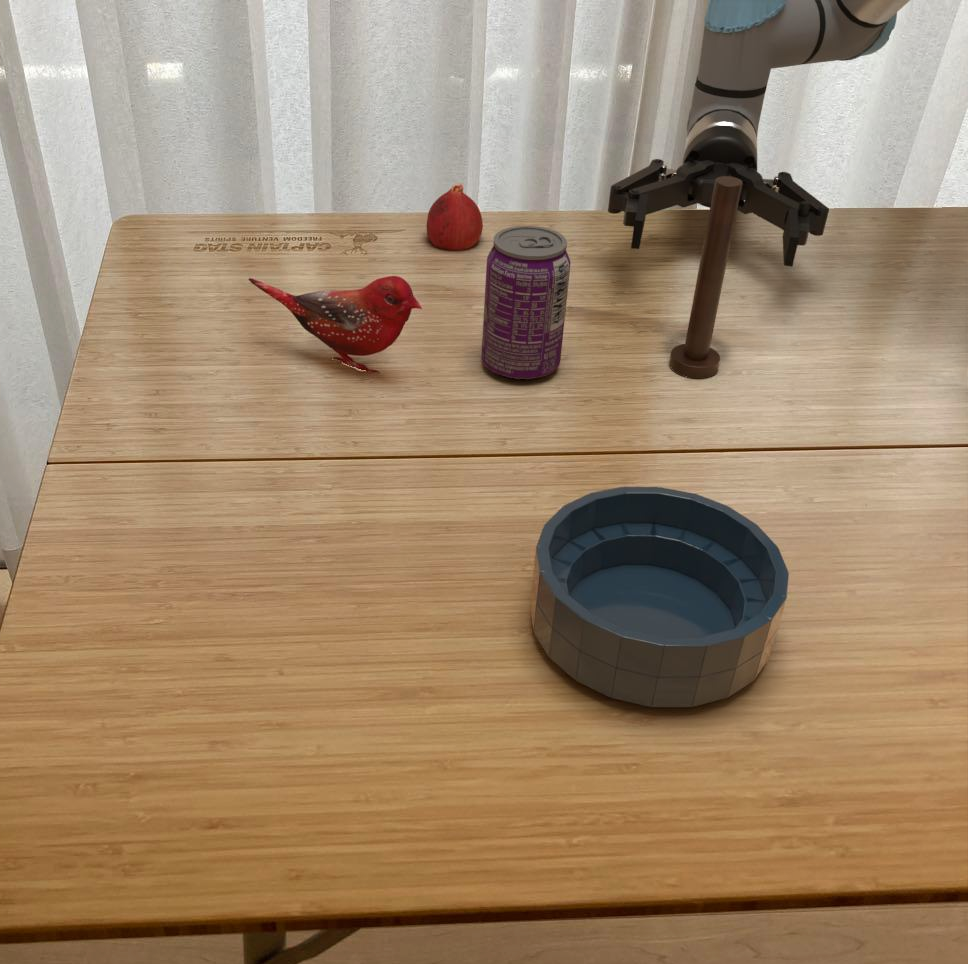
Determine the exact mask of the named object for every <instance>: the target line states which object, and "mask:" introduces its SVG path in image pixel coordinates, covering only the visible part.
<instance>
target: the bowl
mask: <svg viewBox="0 0 968 964" xmlns="http://www.w3.org/2000/svg"><path fill="white" fill-rule="evenodd" d="M789 573H790V572H789V570H788V567H787V565H786V562H785V560H784V558H783V555H782V553H781V550H780V548H779V546H778V545H777V544H776V543H775V542H774V541H773V540H772V539H771V538H770V537H769V536H768V535H767V534H766V532H765V531H764V530H763V529H762V528H761V527H760V526H759V525H758V524H757V523H756V522H754V521H753V520H750V519H749V518H748V517H746V516H745V515H743V514H742V513H739V512H738V511H736V510H735V509H734V508H732V507H731V506H728V505H726V504H723V503H721V502H719V501H716V500H714V499H711V498H708V497H705V496H703V495H700V494H698V493H693V492H689V491H683V490H677V489H672V488H667V487H661V486H620V487H614V488H609V489H604V490H597V491H594V492H590V493H587V494H585V495H583V496H581V497H579V498H577V499H575V500H573V501H569V502H568V503H566V504H564V505H563V506H561V508H559V509H558V510H557V511H556V513H555V514H553V516H551V517H550V518H549V519H548V520H547V522H545V524H544V525H543V528H542V529H541V532H540V535H539V538H538V541H537V544H536V546H535V555H534V565H533V575H532V584H531V594H530V595H531V596H530V603H529V605H530V606H529V609H530V616H531V622H532V625H531V626H532V631H533V633H534V636H535V637H536V639H537V640H538V642H539V643H540V645H541V647H542V649H543V651H544V652H545V654H546V655H547V657H548V658H549V659H550V661H552V662H553V663H554V664H556V665H557V666H558V667H559V668H560V669H562V671H564V672H565V673H566V674H567V675H568V676H569V677H571V678H572V679H573V680H574V681H575V682H577V683H580V684H582V685H583V686H586V687H588V688H590V689H592V690H593V691H596V692H598V693H600V694H602V695H603V696H605V697H608V698H611V699H614V700H619V701H622V702H627V703H631V704H637V705H640V706H645V707H649V708H651V707H652V708H694V707H698V706H702V705H705V704H709V703H712V702H717V701H720V700H725V699H727V698H729V697H731V696H732V695H734V694H736V693H737V692H738V691H740V690H742V689H743V688H745V687H746V686H748V685H749V684H751V683H753V682H754V681H756V678H757V677H758V676H759V674H760V673H761V671H762V669H763V668H764V666H765V665H766V663H767V662H768V660H769V659H770V656H771V653H772V649H773V645H774V643H775V639H776V637H777V633H778V628H779V626H780V622H781V619H782V616H783V611H784V608H785V605H786V601H787V599H788V588H789V577H790V574H789Z"/></svg>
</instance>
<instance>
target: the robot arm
mask: <svg viewBox="0 0 968 964" xmlns="http://www.w3.org/2000/svg"><path fill="white" fill-rule="evenodd" d="M910 1H911V0H708V4H707V8H706V12H705V15H704V20H703V22H704V27H703V33H702V42H701V49H700V57H699V64H698V71H697V76H696V79H695V83H694V87H693V94H692V101H691V106H690V109H689V112H688V120H687V123H686V124H687V125H686V132H687V133H686V139H685V144H684V150H683V157H682V164H681V165H680V166H678V167H677V169H675V168H674V169H672V168H667V167H668V166H667V164H664V163H665V162H664V160H663V159H660V158H654V159H652V160H651V161H650V163H649V165H648V166H646V167H644V168H642V169H640V170H638V171H636V172H635V173H633V174H630V175H629V176H627V177H625V178H622V179H621V180H619V181H617V182H615V183H613V184H612V185H610V190H609V198H608V206H607V212H608V213H610V214H620V213H622V212H624V213H623V221H622V223H623V226H625V227H633V229H632V230H633V231H632V238H631V243H630V244H631V245H630V249H632V250H633V249H634V250H640V247H641V243H642V239H643V238H642V237H643V233H644V228H645V222H646V216H647V215H650V214H653V213H656V212H659V211H664V210H666V209H669V208H672V207H675V206H678V207H681V208H682V209H684V208H688V207H691V206H693V205H697V204H698V205H700V206H702V207H706V208H709V209H710V206H711V200H712V195H713V189H714V184H715V179H716V178H718V177H722V176H730V177H735V178H738V179H740V180H741V181H742V182H743V184H742V189H741V194H740V199H739V204H738V209H737V212H739V213H742V214H744V215H749V214H754V215H755V216H757V217H759V218H761V219H762V220H764V221H766V222H768V223H770V224H771V225H773V226H776V227H777V228H779V229H781V230H782V231H783V232H782V255H783V256H782V257H783V266H784V267H793V265H794V261H795V258H796V253H797V248H798V246H803V247H804V246H805V245H807V241H808V237H809V234H810V235H813V236H815V237H821V236H823V235H824V231H825V228H826V224H827V220H828V217H829V211H830V208H829V207H828V206H827V205H825V204H824V203H822V202H821V201H820V200H818V199H817V197H815V196H814V195H812V194H811V193H810V192H808V191H807V190H806V189H804V188H803V187H802V186H801V185H799V184H798V183H796V182H795V181H794V180H793V177H792V174H791V173H789V172H787V171H780V172H778V174H777V176H774V177H773V178H772V179H770V178H764V177H763V175H762V174H761V173H760V172H758V132H759V126H760V125H759V124H760V120H761V116H762V110H763V105H764V100H765V96H766V92H767V87H768V83H769V79H770V74H771V72H772V71H771V70H772V69H773V70H774V69H779V68H780V69H781V68H788V67H795V66H801V65H810V64H819V63H829V62H835V61H841V62H846V61H851V60H852V61H853V60H856V59H858V58H860V57H865V56H868V55H872V54H874V53H876V52H878V51H879V50H881V49H882V48H883V47H884V46H886V44H887V43H888V42H889V40H890V37H891V34H892V31H894V29H895V27H896V24H897V17H898V12H899V11H900V10H902V9H903V8H904V7H905V6H906V5H907V4H908V3H909V2H910Z"/></svg>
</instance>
